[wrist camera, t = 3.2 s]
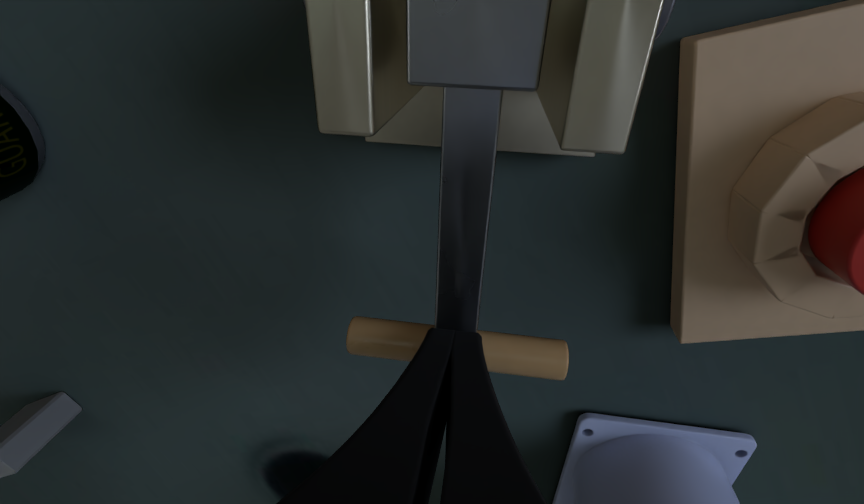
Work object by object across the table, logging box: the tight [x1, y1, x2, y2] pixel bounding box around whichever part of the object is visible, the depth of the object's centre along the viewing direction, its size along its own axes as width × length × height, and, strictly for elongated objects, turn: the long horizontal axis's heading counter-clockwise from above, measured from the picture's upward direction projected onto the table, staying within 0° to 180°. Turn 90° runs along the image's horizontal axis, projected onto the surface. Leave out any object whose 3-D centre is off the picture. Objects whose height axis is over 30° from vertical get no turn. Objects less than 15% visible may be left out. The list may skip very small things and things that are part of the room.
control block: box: [670, 0, 864, 344], centre depth 13 cm, size 11×9×3 cm
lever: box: [346, 0, 569, 381], centre depth 9 cm, size 10×6×2 cm, turn 179°
